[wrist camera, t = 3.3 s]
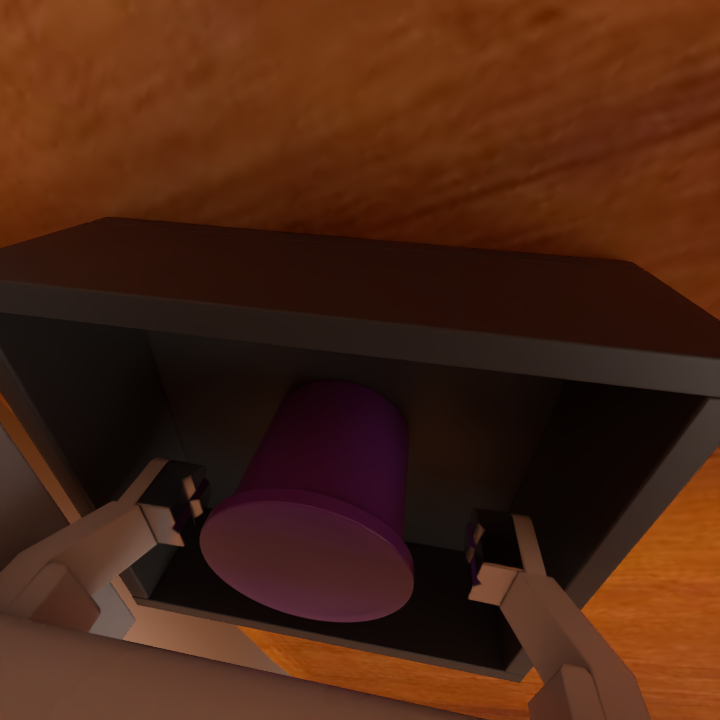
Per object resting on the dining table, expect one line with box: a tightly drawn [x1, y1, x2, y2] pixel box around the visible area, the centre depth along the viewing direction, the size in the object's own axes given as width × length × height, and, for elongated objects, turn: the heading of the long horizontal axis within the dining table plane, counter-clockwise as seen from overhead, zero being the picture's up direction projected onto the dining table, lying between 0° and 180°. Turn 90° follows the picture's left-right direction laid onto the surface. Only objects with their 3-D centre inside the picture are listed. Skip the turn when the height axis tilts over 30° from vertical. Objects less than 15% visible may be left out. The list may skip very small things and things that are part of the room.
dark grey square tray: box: [0, 217, 720, 683], centre depth 12 cm, size 14×13×5 cm
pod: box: [200, 380, 415, 622], centre depth 11 cm, size 5×5×5 cm
